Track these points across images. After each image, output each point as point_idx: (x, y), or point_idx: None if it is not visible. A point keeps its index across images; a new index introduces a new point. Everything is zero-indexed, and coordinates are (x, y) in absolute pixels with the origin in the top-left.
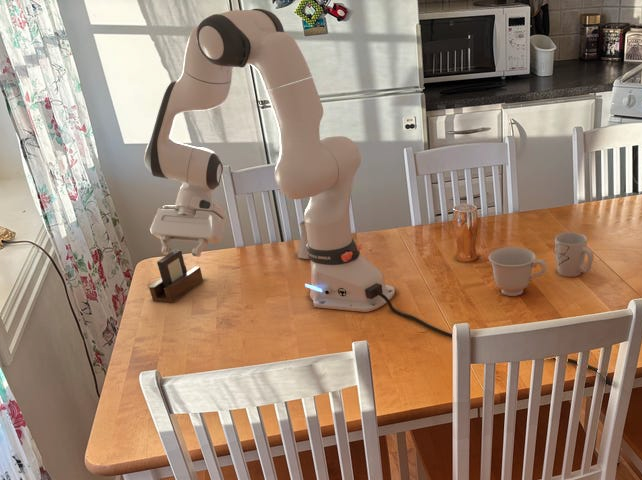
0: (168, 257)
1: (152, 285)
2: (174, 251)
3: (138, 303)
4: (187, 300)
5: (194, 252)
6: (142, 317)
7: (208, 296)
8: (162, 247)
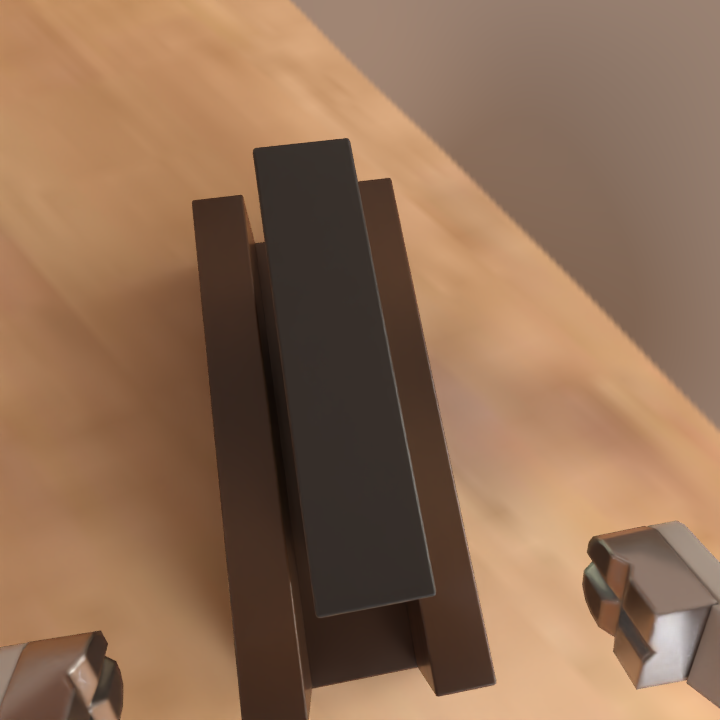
0: (294, 294)
1: (386, 208)
2: (388, 522)
3: (442, 184)
4: (138, 329)
5: (33, 664)
6: (265, 63)
7: (12, 441)
8: (713, 568)
